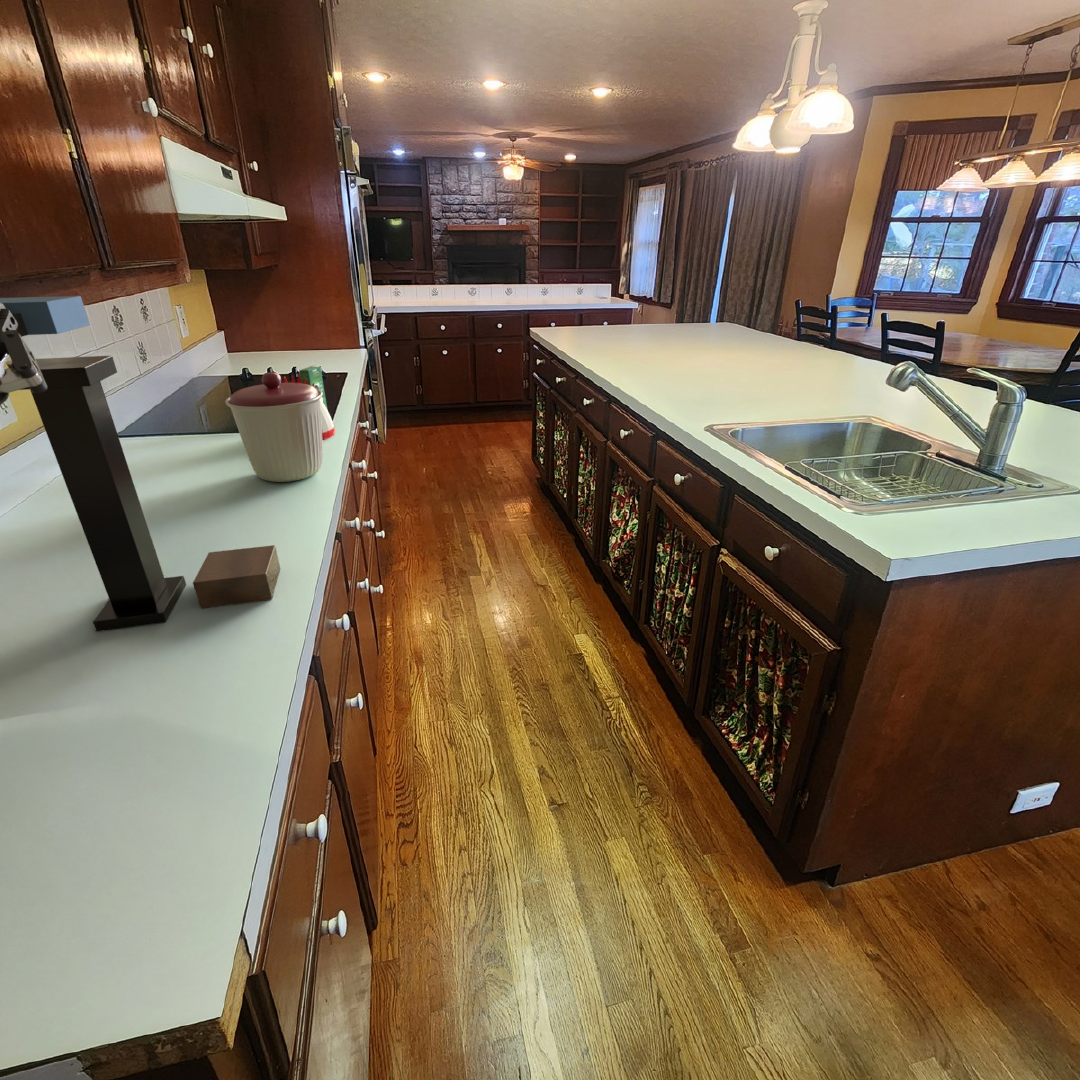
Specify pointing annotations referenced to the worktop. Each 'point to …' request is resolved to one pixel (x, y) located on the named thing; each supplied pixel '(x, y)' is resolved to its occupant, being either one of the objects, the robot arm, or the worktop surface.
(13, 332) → the robot arm
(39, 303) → the back pad
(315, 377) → the coffee box
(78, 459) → the stand
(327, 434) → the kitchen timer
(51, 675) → the worktop surface
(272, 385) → the canister
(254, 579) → the brown wooden block
